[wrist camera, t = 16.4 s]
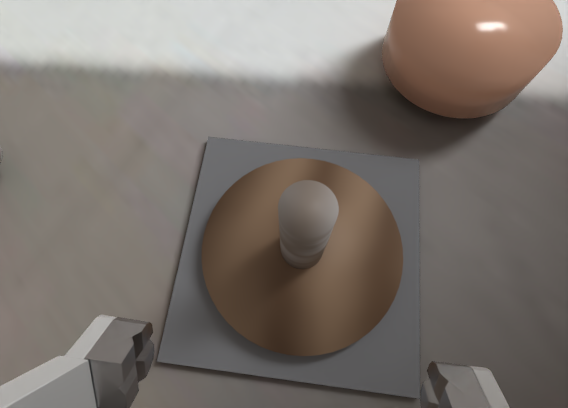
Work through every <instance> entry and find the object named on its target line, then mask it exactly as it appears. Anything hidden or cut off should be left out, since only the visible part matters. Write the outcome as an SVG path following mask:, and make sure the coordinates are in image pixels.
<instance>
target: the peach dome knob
mask: <svg viewBox="0 0 568 408" xmlns="http://www.w3.org/2000/svg"><path fill="white" fill-rule="evenodd" d="M562 32H563V28H562V20H561V16H560V13H559V11H558V9H557V6H556V5H555V3H554V1H553V0H397V1H396V5H395V8H394V11H393V14H392V17H391V20H390V23H389V26H388V30H387V33H386V36H385V39H384V42H383V46H382V61H383V66H384V69H385V72H386V74H387V76H388V78H389V80H390V81H391V83H392V84H393V85H394V87H395V88H396V89H397V90H398V91H399V92H400V93H401V94H402V95H403V96H404V97H405V98H406V99H408V100H409V101H410V102H412V103H413V104H415V105H417V106H418V107H420V108H422V109H424V110H426V111H429V112H432V113H434V114H438V115H441V116H445V117H451V118H464V119H466V118H477V117H483V116H486V115H490V114H493V113H495V112H497V111H499V110H501V109H503V108H504V107H506V106H507V105H508V104H510V103H511V102H512V101H513V100H514V99H515V98H516V97H517V96H518V94H519V93H520V92H521V91H522V90H523V89H524V88H525V87H526V86H527V85H528V84H529V83H530V82H531V80H532V79H533V78H534V77H535V76H536V75H537V74H538V73H539V72H540V71H541V70H542V69H543V68H544V66H545V65H546V64H547V63H548V62H549V61H550V60H551V59H552V57H553V56H554V55H555V54H556V52H557V50H558V48H559V46H560V43H561V39H562Z"/></svg>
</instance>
